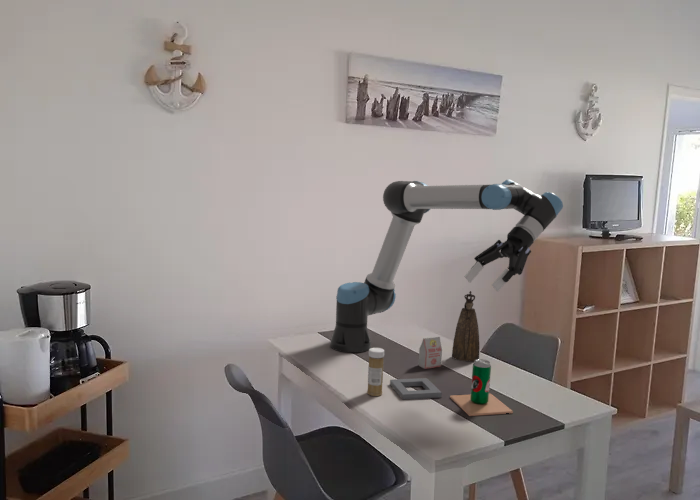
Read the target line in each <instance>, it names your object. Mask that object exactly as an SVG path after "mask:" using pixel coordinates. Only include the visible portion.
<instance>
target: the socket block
mask: <svg viewBox="0 0 700 500" xmlns="http://www.w3.org/2000/svg"><path fill="white" fill-rule="evenodd" d="M389 385H390V387H392V388H393V390H394V391H395V392H396V393H397V395H398V396H399V397H400V398H401V399H402V400H414V399H415V400H416V399H421V400H422V399H434V398H442V395H443V393H442V391H441V390H440V389H439V388H438V387H437V386H436V385H435V384H434V383H433V382H432V381H431V380H429V379H428V378H427V377H422V378H421V377H420V378H419V377H417V378H398V379H390V380H389ZM406 387H422V388H423V389H419V390H418V389H417V390H416V389H415V390H408V389H407V388H406Z"/></svg>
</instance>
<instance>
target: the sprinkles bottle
mask: <svg viewBox="0 0 700 500" xmlns="http://www.w3.org/2000/svg"><path fill="white" fill-rule="evenodd" d="M384 357H385V349H383V348H382V347H371V348H370V349H369V350H368V370H367V373H368V374H367V391H366V393H367V394H368V395H369V396H372V397H379V396H382V395H383V383H384V359H385V358H384Z"/></svg>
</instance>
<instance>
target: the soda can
mask: <svg viewBox="0 0 700 500" xmlns="http://www.w3.org/2000/svg"><path fill="white" fill-rule="evenodd" d="M471 374H472V375H471V385H470V395H471V396H470V399H471V401H472V402H473V403H475V404H479V405H484V404H486V403H487V402H488V399H489V393H490V385H491V374H492V365H491V362H490V360H487V359H483V358H479V359H476V360H475V361H473V362H472V372H471Z"/></svg>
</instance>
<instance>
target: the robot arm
mask: <svg viewBox="0 0 700 500" xmlns="http://www.w3.org/2000/svg"><path fill="white" fill-rule="evenodd" d="M382 201H383V204H384V207H385V208H386V209H387V210H388V211H389V212H390V214H391V216H392V218H391V222H390V224H389V227H388V229H387V233H386V235H385V237H384V240H383V242H382V244H381V248H380V250H379V253H378V257H377V259H376V261H375V264H374V266H373V270H372V272H371V273H368V274H367V275H366V277H365V279H364V282H361V281H359V282H358V281H354V282H346V283H343V284H341V285H340V286H338V288H337V292H336V299H335V300H336V309H335V310H336V313H335V326H334V329H333V332H332V335H331V337H330V348H331V349H333V350H335V351H338V352H343V353H363V352H368V351H369V349H371V348H372V341H371V337H370V333H369V330H368V316H371V315H376V314H379V313H384V312H385V311H387V310H389V309H390V308H392V306H393V305H394V303H395V301H396V297H397V296H396V295H397V294H396V293H395V292H396V290H395V287H396V285H395V283H394V279H395V278H396V277H395V276H396V274H397V273H398V269H399V267H400V265H401V261H402V260H403V256H404V254H405V251H406V250H407V246H408V243H409V241H410V238H411V236H412V233H413V230H414V227H415V226H416V225H419V224H421V223H422V222H421V221H422V219H423V217H424V214H426V213H428V212H429V211H431V210H494V211H500V210H501V211H502V210H512V209H513V210H515V211H517V212H519V213H521V214H522V217H521V218H520V220H519V221H518V222H517V223H516V224H515V225H514V226H513V227H512V229H511V230H510V231H509V232H508V233H507V235H506V237H507V239H506V240H505V241H504V242H502V241H501V239H498V240H496V241H495V243H494V244H492V245H491V246H490V247H488V248H486V249H485V250H483V251H482V252H480V253H479V254H478V255H476V256H474V260H475V264H474V265H473V266H472V267H471V268H470V269H469V271H468V272H466V274H465V275H464V278H465V279H466V281H467V282H468V283H472V281H474V279H475V278H476V277H477V276H478V275H479V274H480V272H482V270H484V267H485V266H486V265H488V264H490V263H492V262H494V261H495V260H498V259H503V258H508V266H507V268H505V269H504V270H503V271H502V273H501V274H499V276H498V277H497V278H496V279H495V281H494V282H493V283H492V284H491V286H492V287H493V288H494V290H495V291H496V292H499V291H500V290H501V289H502V288H503V287H504V285H506V283H508V282H509V281H510V280H511V278H513V276H516V275H518V276H520V275H522V274H523V271H524V268H525V265H526V263H527V260H528V257H529V255H531V253H532V250H531V248H530V247H531V246H533V244H534V241H536V240H537V239H538V237H540V235H541V234H542V233H543V232H544V231H545V230H546V229H547V227H549V225H550V224H551V223H552V222H553V221H554V220H555V219H556V218H557V216H558V215H559V213H560V212H561V211H562V210H563V207H564V204H563V201H562V199H561V198H560V196H558V195H557V194H555V193H554V192H549V191H546V192H543V194H541V195H540V194H538V193H535V192H534V191H532V190H531V189H528V188H527V187H525V186H523V185H521V184H520V183H518V182H515V181H514V180H512V179H506V180H505V181H503V182H501V183H493V184H455V185H449V184H448V185H447V184H446V185H429V184H427V183H425V182H422V181H418V180H413V181H408V180H396V181H393V182H391V183H390V184H388V185H387V186H386V187H385V189H384V191H383V195H382Z"/></svg>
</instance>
